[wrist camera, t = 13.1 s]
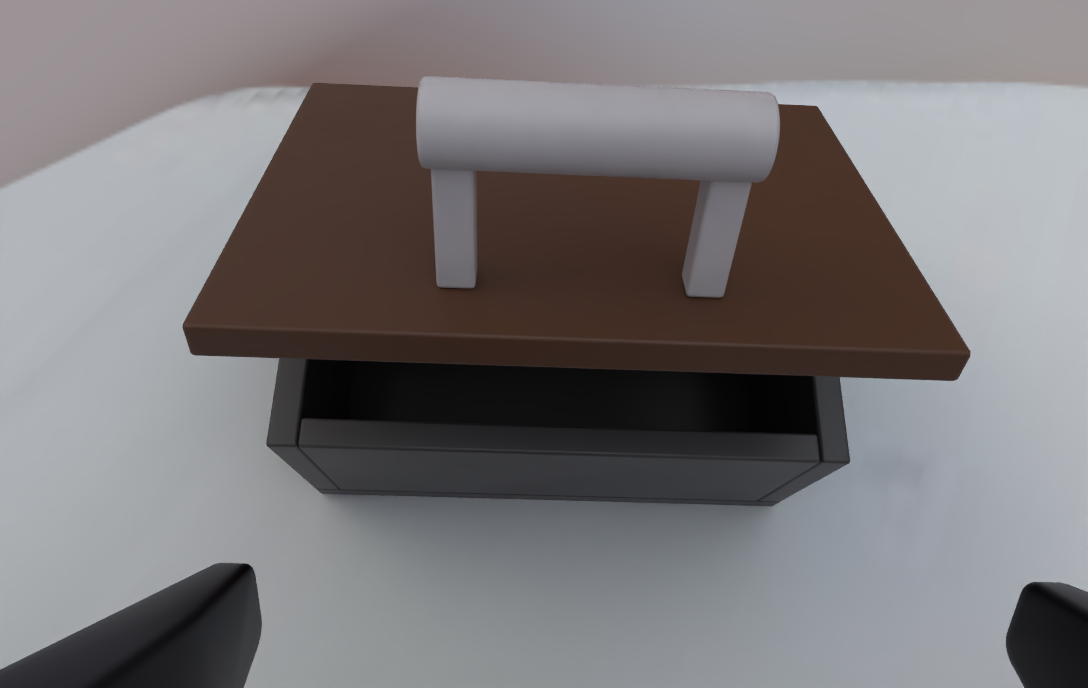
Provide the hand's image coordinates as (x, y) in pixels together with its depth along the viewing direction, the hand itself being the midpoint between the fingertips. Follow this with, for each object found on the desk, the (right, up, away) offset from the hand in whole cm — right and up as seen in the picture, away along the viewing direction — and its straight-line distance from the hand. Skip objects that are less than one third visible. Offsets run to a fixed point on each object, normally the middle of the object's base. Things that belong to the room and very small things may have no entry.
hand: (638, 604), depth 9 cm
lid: (-1, +6, +8) cm, 10 cm away
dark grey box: (-1, +3, +16) cm, 16 cm away
